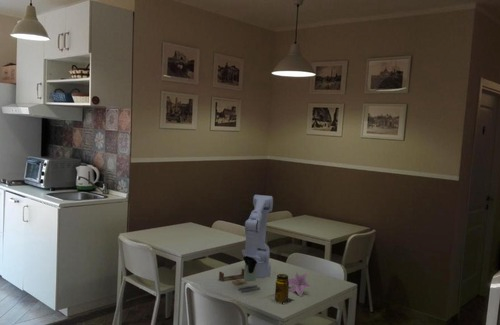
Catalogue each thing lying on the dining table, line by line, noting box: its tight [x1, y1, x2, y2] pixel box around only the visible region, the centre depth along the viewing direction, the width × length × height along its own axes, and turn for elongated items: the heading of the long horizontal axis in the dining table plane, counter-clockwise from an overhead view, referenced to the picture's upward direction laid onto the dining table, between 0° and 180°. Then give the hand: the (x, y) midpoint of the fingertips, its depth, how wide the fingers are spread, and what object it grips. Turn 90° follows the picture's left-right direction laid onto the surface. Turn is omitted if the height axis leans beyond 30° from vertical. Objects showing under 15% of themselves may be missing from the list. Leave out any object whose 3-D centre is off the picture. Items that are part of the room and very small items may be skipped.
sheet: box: [243, 264, 257, 283], centre depth 217 cm, size 6×1×8 cm, turn 120°
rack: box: [218, 268, 244, 282], centre depth 229 cm, size 14×14×6 cm
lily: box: [288, 271, 311, 297], centre depth 221 cm, size 12×12×10 cm
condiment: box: [271, 273, 295, 305], centre depth 210 cm, size 7×8×12 cm
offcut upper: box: [231, 279, 248, 286], centre depth 226 cm, size 6×4×1 cm
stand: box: [238, 284, 261, 294], centre depth 217 cm, size 12×8×2 cm, turn 120°
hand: (250, 272), depth 216 cm, fingers closed on sheet, 1 cm apart
